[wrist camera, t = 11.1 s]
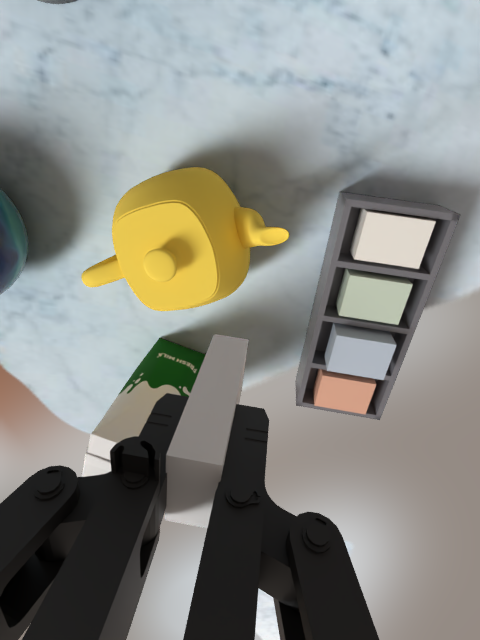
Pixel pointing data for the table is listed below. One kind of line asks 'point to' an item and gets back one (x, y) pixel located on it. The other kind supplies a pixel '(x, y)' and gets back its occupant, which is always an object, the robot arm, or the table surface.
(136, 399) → the milk carton
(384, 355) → the key
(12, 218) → the vase
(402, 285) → the key
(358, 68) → the table surface
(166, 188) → the teapot
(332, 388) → the key
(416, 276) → the keypad base
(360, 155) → the table surface
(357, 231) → the key
